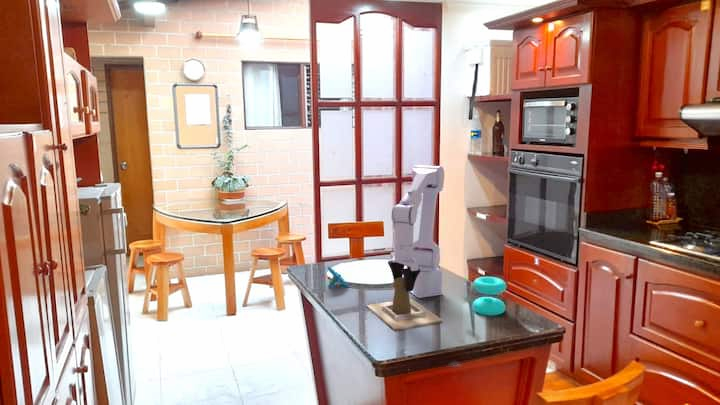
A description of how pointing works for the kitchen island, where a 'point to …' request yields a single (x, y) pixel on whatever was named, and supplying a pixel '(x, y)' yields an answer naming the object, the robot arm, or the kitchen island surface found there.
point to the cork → (401, 297)
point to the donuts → (489, 303)
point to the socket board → (404, 315)
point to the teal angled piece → (336, 278)
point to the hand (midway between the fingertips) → (403, 287)
